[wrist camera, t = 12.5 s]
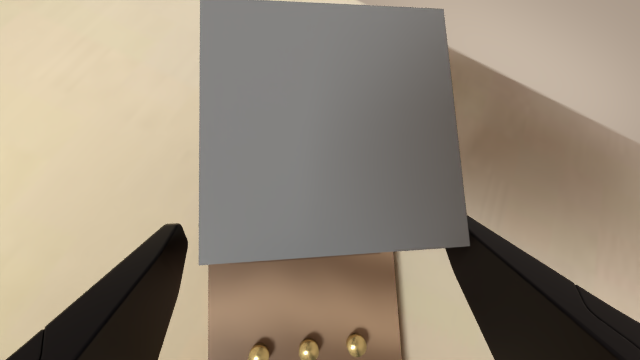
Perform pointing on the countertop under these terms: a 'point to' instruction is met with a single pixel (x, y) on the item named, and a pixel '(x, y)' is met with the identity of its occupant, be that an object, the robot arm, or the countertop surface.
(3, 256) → the countertop surface
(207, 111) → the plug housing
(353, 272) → the walnut holder
